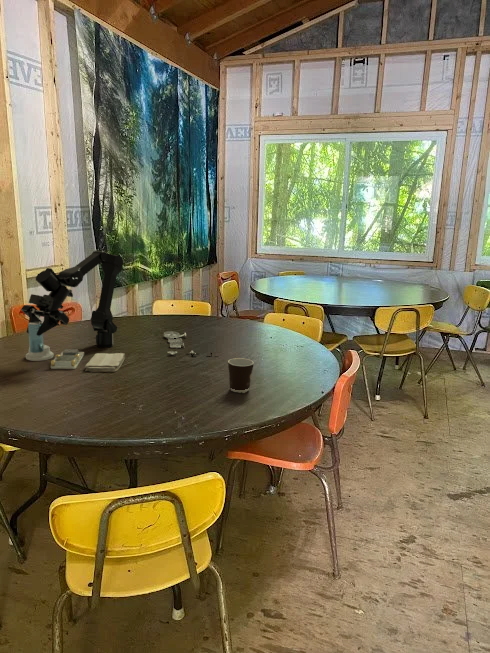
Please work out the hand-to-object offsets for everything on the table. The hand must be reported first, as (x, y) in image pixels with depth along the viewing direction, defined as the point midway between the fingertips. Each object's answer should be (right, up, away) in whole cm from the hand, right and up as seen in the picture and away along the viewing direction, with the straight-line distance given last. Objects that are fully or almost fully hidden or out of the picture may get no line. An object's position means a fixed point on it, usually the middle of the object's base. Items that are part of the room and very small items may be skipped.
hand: (32, 334), depth 163 cm
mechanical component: (-4, -10, +16) cm, 19 cm away
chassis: (+8, -11, +12) cm, 18 cm away
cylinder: (0, -6, +3) cm, 7 cm away
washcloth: (+23, -12, +12) cm, 28 cm away
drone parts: (+51, -6, +43) cm, 67 cm away
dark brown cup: (+75, -19, -7) cm, 77 cm away
